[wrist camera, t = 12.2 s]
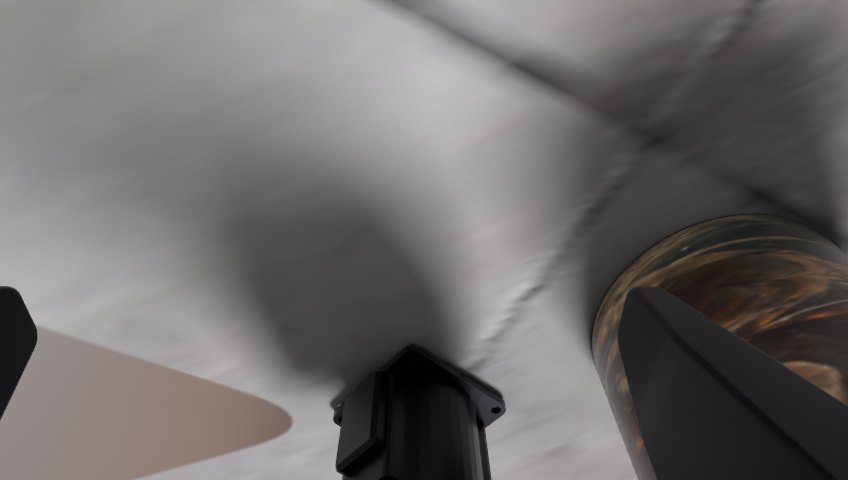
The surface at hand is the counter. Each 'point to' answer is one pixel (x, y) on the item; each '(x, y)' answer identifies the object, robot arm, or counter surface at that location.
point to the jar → (739, 303)
